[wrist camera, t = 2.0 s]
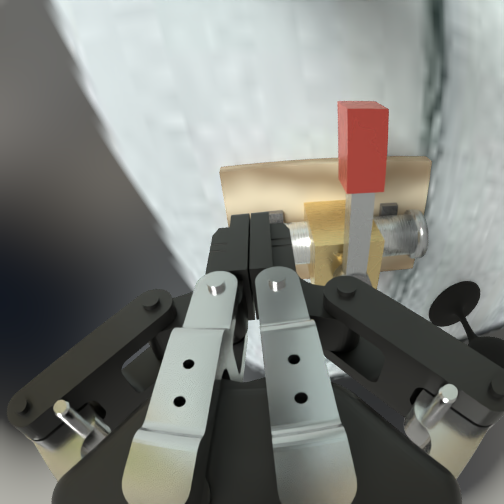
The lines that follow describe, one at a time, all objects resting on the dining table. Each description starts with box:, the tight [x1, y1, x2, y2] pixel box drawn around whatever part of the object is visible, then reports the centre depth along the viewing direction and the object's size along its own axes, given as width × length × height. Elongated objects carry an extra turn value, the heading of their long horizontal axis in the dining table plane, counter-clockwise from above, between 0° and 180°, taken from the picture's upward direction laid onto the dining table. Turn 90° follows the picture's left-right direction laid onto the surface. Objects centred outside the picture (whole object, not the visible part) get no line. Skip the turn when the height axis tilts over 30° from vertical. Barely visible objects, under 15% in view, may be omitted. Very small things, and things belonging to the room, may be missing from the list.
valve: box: [265, 200, 428, 289], centre depth 33 cm, size 6×19×8 cm, turn 96°
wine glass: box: [429, 281, 504, 369], centre depth 38 cm, size 10×10×20 cm
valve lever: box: [333, 101, 389, 286], centre depth 24 cm, size 17×3×3 cm, turn 6°
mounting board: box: [219, 156, 432, 279], centre depth 36 cm, size 15×23×2 cm, turn 96°
